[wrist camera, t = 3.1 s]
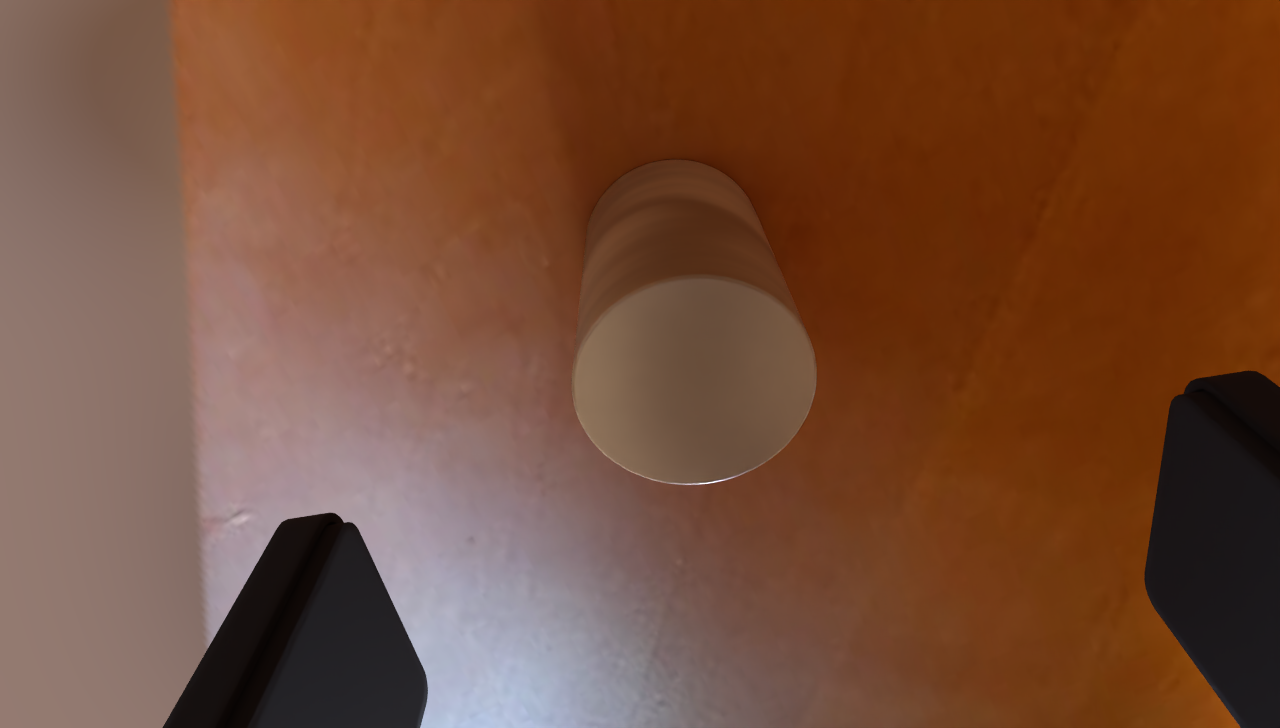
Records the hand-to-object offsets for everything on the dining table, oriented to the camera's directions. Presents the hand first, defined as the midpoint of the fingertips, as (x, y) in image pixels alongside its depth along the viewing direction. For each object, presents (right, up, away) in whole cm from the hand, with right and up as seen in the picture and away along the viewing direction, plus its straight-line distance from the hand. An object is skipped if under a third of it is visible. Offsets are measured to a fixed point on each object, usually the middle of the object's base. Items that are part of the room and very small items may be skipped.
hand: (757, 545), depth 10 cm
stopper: (-1, +5, +8) cm, 10 cm away
